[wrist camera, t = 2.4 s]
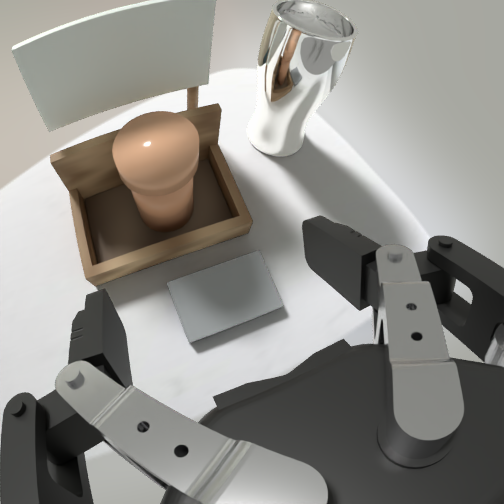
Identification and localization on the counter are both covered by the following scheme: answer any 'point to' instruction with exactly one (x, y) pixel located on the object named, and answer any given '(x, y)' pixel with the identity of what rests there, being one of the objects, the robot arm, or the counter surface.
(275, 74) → the beer glass
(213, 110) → the open wooden box
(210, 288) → the tile
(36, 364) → the counter surface
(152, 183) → the peach mushroom shaped stopper
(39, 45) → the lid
